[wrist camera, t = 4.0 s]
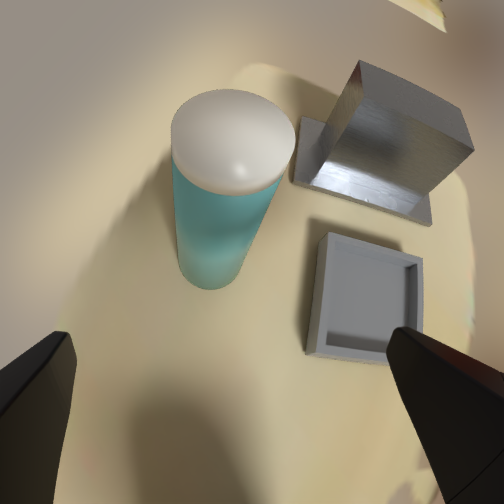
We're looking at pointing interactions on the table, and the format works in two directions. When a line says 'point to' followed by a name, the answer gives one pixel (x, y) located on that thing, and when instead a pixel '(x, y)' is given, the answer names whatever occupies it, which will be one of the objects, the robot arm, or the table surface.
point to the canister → (224, 179)
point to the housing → (383, 145)
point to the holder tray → (362, 299)
